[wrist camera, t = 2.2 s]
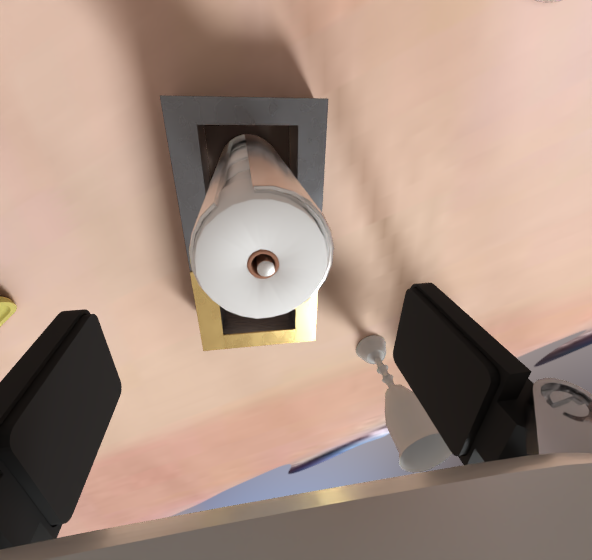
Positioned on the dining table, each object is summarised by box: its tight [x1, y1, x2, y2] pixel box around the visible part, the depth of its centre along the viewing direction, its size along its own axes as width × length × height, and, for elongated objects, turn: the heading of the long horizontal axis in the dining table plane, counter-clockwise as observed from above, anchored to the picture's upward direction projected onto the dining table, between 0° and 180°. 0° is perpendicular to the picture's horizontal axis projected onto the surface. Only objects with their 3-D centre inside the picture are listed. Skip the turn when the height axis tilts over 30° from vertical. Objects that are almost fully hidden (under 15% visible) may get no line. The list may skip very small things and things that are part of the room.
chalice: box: [356, 335, 452, 472], centre depth 43 cm, size 7×7×18 cm
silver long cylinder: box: [189, 134, 334, 319], centre depth 24 cm, size 6×6×25 cm
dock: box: [160, 96, 328, 351], centre depth 35 cm, size 27×14×6 cm, turn 179°
